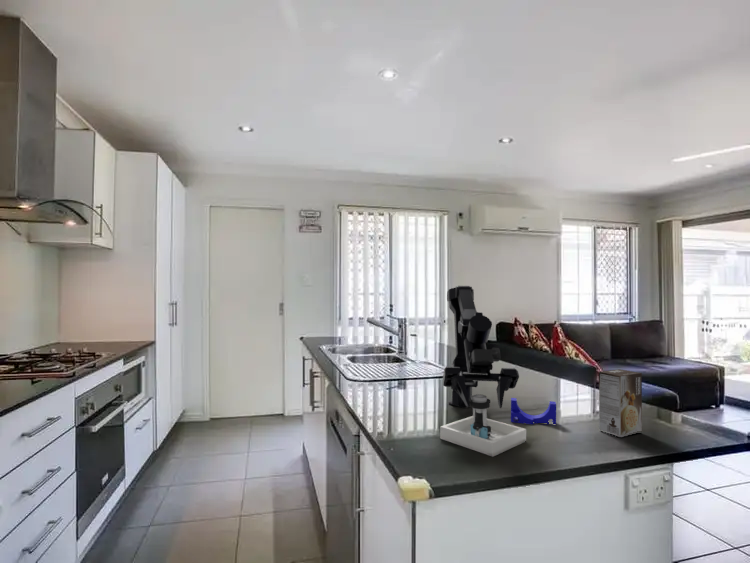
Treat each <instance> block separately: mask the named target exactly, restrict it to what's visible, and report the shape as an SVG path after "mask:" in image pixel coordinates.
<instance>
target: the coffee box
mask: <svg viewBox="0 0 750 563" xmlns="http://www.w3.org/2000/svg"><path fill="white" fill-rule="evenodd" d="M642 375H643V373H642V372H637V371H632V370H625V369H618V368H617V369H610V370H603V371H599V372H598V430H599V429H600V430H603V431H607V432H610V433H614V434H617V435H625V434H629V433H633V432H637V431H642V432H643V429H642V428H643V422H642V421H643V418H642V417H643V415H642V414H643V411H642V410H643V408H642V407H643V399H642V398H643V397H642V396H643V395H642V394H643V391H642V390H643V388H642V387H643V378H642Z"/></svg>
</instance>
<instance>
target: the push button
mask: <svg viewBox="0 0 750 563" xmlns="http://www.w3.org/2000/svg"><path fill="white" fill-rule="evenodd" d="M469 403H470V407H469V408H471V409H472V416H473V424H471V425H470V426H471V435H474V436H477V437H480V438H484V439H487V438H489V437H491V438H495V437H493V436H491V435H490V434H492V432H491V427H490V426H488V424H487V419H488V415H487V413H488V412H487V409H489V408H490V407H491V406H490V404H491V399H489V398H487V395H484V394H478V393H477V394H472V398H470V399H469ZM494 434H495V433H493V435H494Z"/></svg>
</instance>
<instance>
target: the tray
mask: <svg viewBox="0 0 750 563" xmlns="http://www.w3.org/2000/svg"><path fill="white" fill-rule="evenodd" d="M471 424H473V415H472V416H468V417H466V418H465V417H464V418H462V419H459V420H455V421H453V422H450V423H447V424H444V425H441V426H440V427H439V428H440V429H439V430H440V431H439V433H440V434H439V438H440V440H443V441H447V442H449V443H452V444H455V445H458V446H461V447H463V448H467V449H469V450H473V451H476V452H478V453H481V454H483V455H487V456H490V457H492V458H493V457H495V456H497V455H500V454H502V453H503V452H506V451H509V450H511V449H512V448H514V447H517V446H519V445H521V444H523V443H526V442H527V428H523V427H520V426H516V425H513V424H510V423H505V422H502V421H497V420H495V419H491V418H487V424H488V426H490V427H491V432H492V434H490V435H491V436H493V437H495V438H491V437H489V438H487V439H484V438H480V437H477V436H474V435H471V426H470V425H471ZM493 433H495V434H494V435H493ZM525 441H526V442H525Z"/></svg>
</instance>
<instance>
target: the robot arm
mask: <svg viewBox="0 0 750 563" xmlns="http://www.w3.org/2000/svg"><path fill="white" fill-rule="evenodd" d="M474 291H475V290H474V289H473V287H472V286H471V285H457V286H455V287H453V288H452V287H451V288H449V289H448V290H447V293H446V300H447V302H448V308H449V310H450V311H451V312H452V313H453V317H454V338H455V340H454V342H455V343H454V344H455V357H454V358H453V361H452V363H451V366H446V367H444V369H443V373H442V385H443V386H444V387H447V388H449V387H450V389H451V390H452V391H451V393H452V394H451V401H449V402H448V404H449V405H451V406H455V407H459V408H463V409H466V408H471V407H470V403H469V399H470V398H472V395H473V388H477V387H478V385H479V383H478V382H497V387H496V388H495V389H496V397H497V403H498V408H499V409H502V407H503V402H504V396H505V392H507V391H508V390H509V389H515V388H516V386H517V383H518V381H519V380H520V374H519V371H518V370H517V369H516V368H514V367H513V368H512V367H509V368H508V367H501V369H500V372H499V373H492V372H491V371H493V368H494V367H493V363H494V362H496V363H497V362H500V361H501V358H502V357H501V350H500V348H499V347H491V349H488V348H487V345H486V343H488V340H489V337H490V334H491V330H492V326H493V322H492V321H491V319H490V318H489V317H487V316H486V315H484V313H483V312H478V311H477V308H476V305H475V301H474V300H475V296H474V294H475V293H474ZM443 386H442V387H443Z"/></svg>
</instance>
